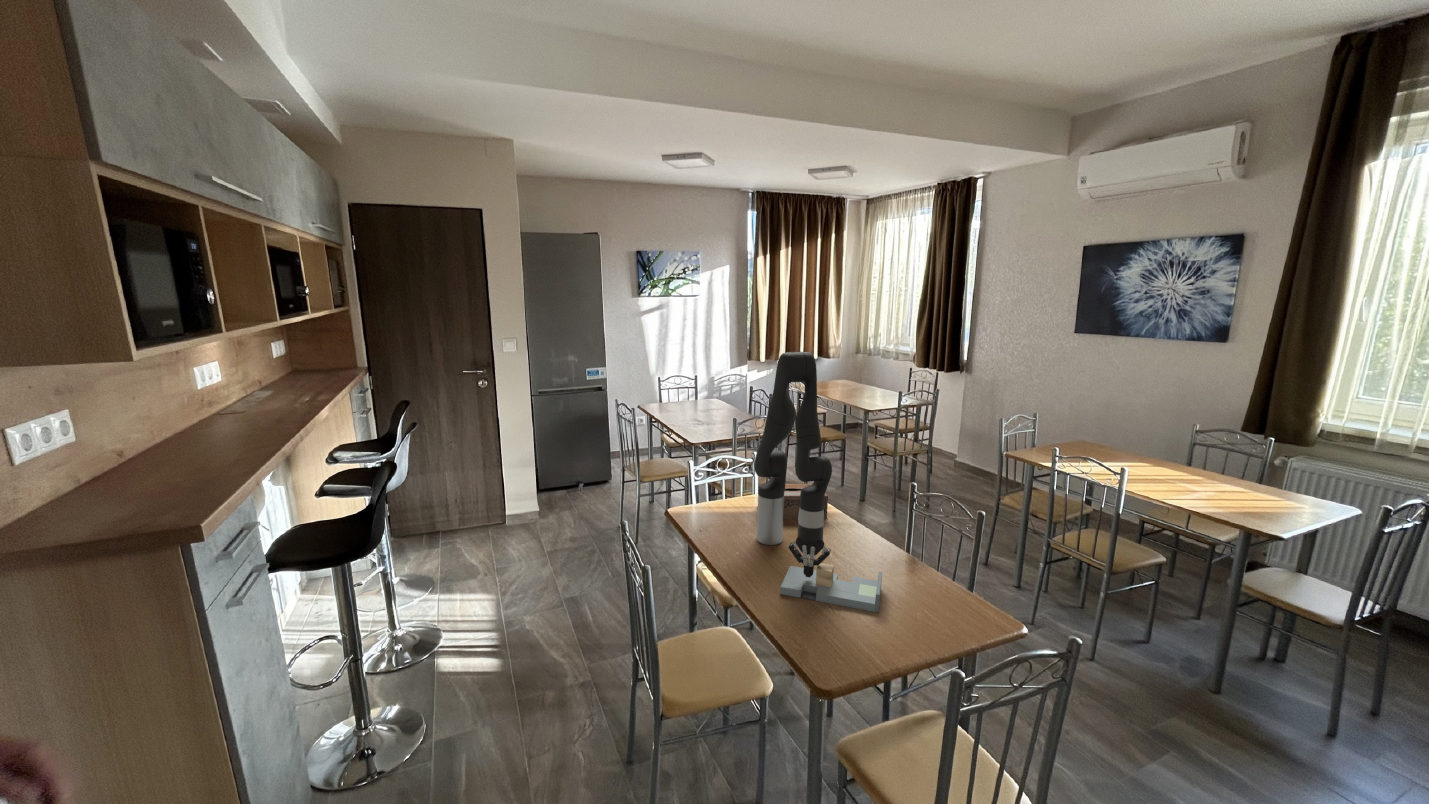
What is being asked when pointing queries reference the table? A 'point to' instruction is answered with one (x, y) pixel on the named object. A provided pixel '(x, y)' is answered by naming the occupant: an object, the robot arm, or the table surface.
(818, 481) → the robot arm
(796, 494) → the tissue box cover
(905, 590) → the table surface
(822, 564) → the beech block
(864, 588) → the plate
